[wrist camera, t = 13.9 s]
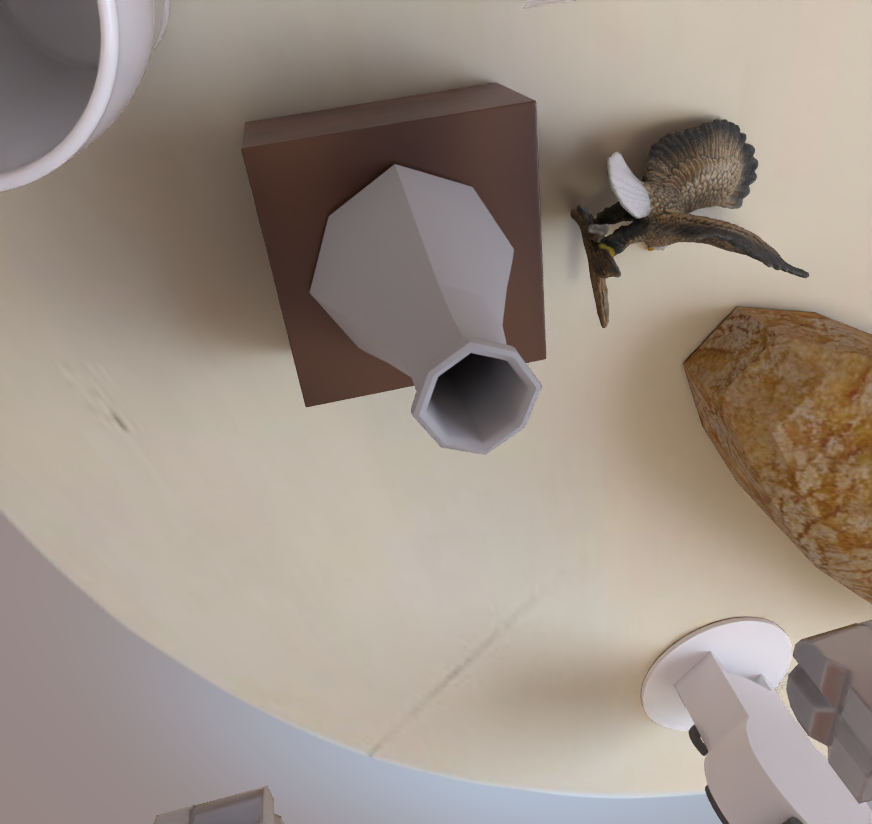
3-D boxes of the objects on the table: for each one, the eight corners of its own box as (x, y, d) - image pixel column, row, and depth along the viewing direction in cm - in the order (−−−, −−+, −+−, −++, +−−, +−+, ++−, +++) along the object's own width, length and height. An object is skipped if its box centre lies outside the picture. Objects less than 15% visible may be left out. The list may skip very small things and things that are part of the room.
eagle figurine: (591, 336, 34) (787, 293, 33) (609, 321, 27) (859, 265, 26) (557, 178, 34) (752, 130, 33) (566, 122, 27) (814, 58, 26)
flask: (432, 386, 30) (497, 550, 21) (274, 297, 26) (278, 448, 18) (544, 240, 27) (668, 357, 19) (387, 122, 24) (451, 201, 16)
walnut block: (300, 353, 33) (305, 407, 29) (244, 122, 28) (240, 148, 24) (512, 312, 34) (546, 359, 30) (497, 82, 29) (536, 100, 25)
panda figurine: (603, 701, 51) (712, 939, 39) (716, 593, 48) (878, 817, 35) (709, 740, 56) (837, 960, 44) (818, 645, 53) (991, 855, 40)
